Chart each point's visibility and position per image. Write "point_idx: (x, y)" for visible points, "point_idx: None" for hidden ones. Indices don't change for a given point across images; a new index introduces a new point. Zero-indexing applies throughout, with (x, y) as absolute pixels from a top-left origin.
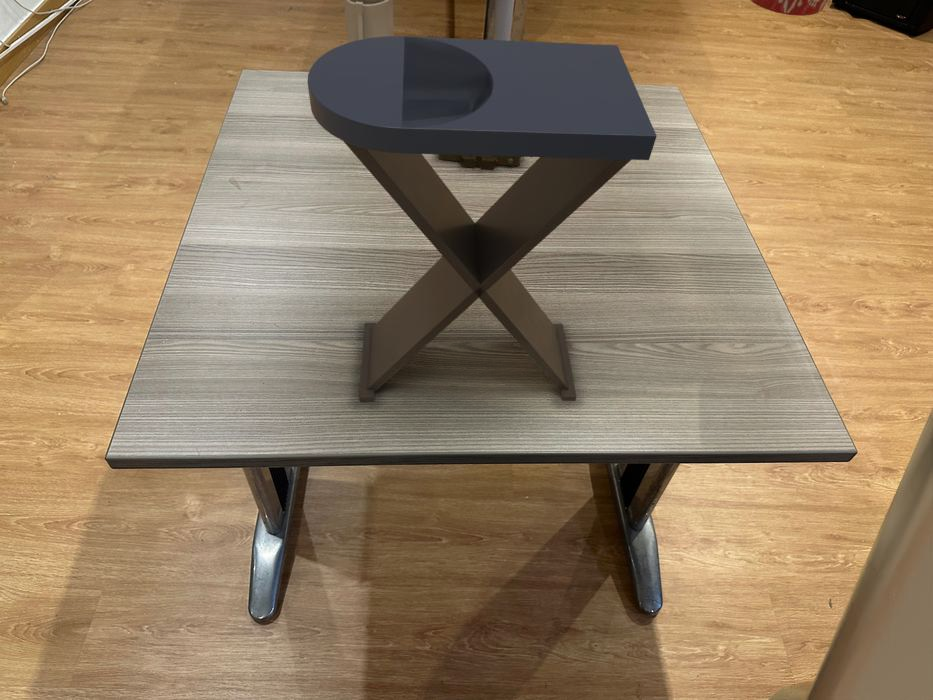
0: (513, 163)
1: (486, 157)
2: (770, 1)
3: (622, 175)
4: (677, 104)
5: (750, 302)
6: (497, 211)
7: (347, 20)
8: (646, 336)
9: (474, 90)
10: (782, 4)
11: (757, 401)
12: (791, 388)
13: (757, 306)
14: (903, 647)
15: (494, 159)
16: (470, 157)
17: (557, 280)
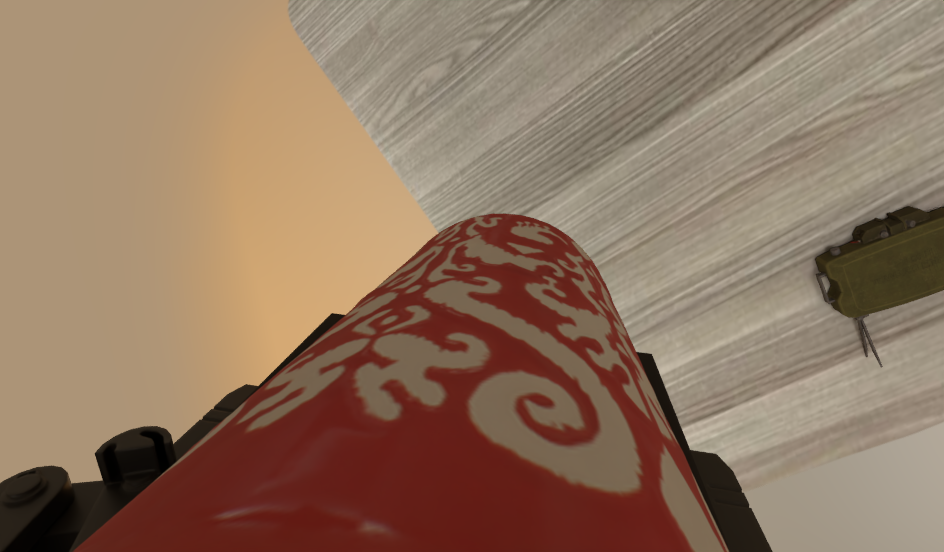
0: (827, 254)
1: (881, 231)
2: (522, 218)
3: (657, 320)
4: None
5: (433, 172)
6: None
7: None
8: (521, 26)
9: None
10: (487, 216)
11: (374, 9)
12: (351, 58)
13: (425, 170)
14: None
15: (865, 235)
16: (909, 218)
17: (668, 50)
